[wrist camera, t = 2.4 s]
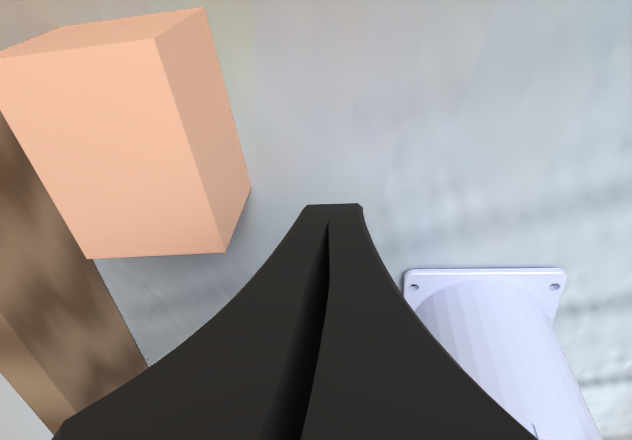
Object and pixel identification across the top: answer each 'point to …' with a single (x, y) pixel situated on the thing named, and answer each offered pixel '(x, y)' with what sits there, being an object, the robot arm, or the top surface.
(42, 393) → the plank
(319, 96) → the top surface
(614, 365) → the top surface
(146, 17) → the block
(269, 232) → the top surface
